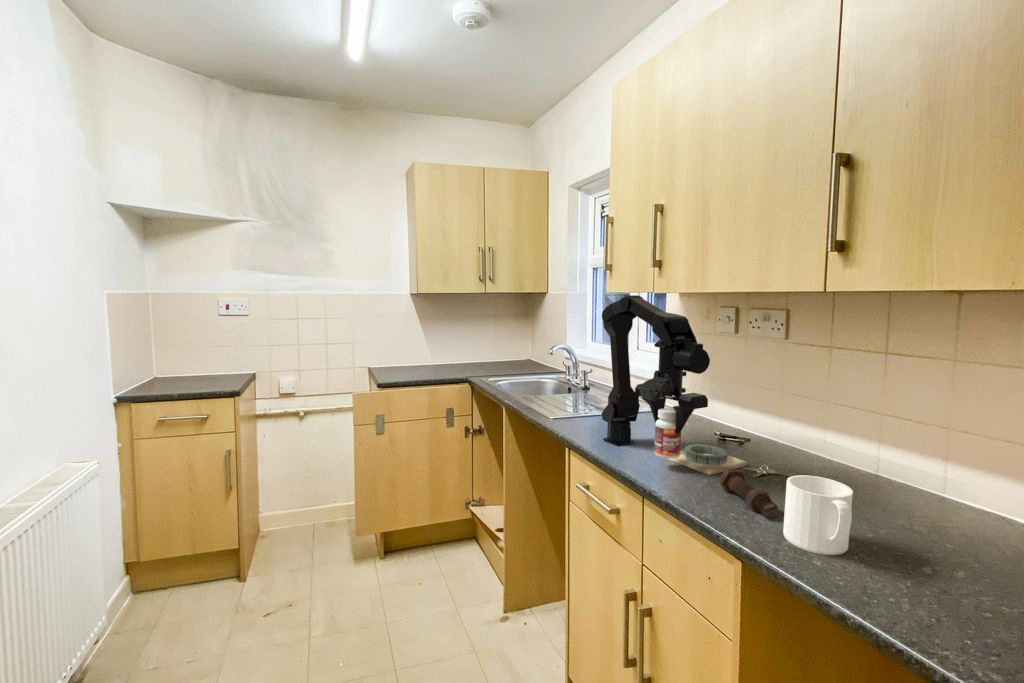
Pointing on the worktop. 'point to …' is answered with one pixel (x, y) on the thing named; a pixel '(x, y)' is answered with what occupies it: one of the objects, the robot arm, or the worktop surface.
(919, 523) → the worktop surface
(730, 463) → the socket
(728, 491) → the bolt
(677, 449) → the pill bottle
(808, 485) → the mug
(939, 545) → the worktop surface
